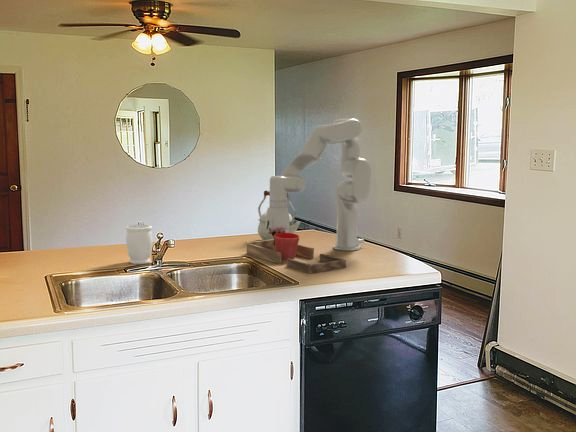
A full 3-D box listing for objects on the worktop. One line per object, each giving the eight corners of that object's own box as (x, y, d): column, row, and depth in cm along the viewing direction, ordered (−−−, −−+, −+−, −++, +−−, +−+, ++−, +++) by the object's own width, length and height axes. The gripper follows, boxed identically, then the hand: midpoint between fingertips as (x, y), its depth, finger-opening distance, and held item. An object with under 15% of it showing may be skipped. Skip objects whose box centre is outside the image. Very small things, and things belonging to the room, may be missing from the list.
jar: (157, 260, 247) (157, 225, 245) (144, 265, 238) (143, 229, 235) (135, 258, 251) (134, 223, 249) (121, 263, 241) (120, 227, 239)
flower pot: (296, 261, 249) (297, 239, 247) (270, 259, 251) (271, 236, 249) (300, 255, 259) (301, 233, 257) (275, 252, 261) (276, 231, 259)
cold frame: (279, 249, 274) (279, 238, 274) (313, 258, 255) (313, 246, 254) (246, 253, 263) (246, 242, 263) (279, 263, 244) (279, 251, 243)
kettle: (247, 241, 293) (247, 191, 289) (269, 236, 308) (269, 188, 304) (289, 247, 279) (289, 194, 275) (310, 241, 294) (310, 191, 290)
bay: (321, 260, 250) (321, 253, 250) (346, 267, 238) (346, 260, 238) (286, 266, 239) (286, 258, 239) (310, 273, 227) (310, 265, 227)
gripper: (286, 202, 264) (286, 243, 267) (258, 204, 255) (258, 246, 258) (297, 204, 258) (296, 245, 261) (268, 206, 249) (268, 249, 252)
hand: (277, 246), depth 259 cm, fingers closed
